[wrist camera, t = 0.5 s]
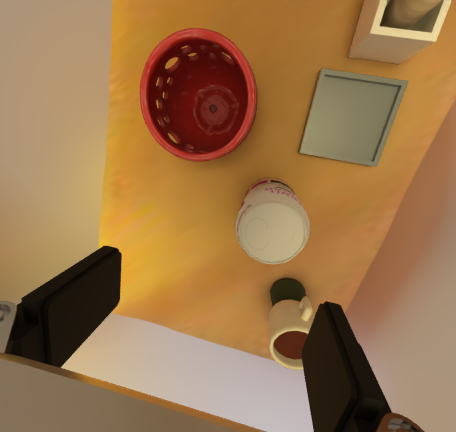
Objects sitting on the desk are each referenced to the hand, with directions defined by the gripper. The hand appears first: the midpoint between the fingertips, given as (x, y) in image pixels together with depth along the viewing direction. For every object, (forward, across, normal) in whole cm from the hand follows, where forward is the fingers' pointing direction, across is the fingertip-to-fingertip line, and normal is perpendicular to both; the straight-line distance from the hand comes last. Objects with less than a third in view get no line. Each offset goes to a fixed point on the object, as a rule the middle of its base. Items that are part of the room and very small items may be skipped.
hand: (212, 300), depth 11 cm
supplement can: (+30, -4, +2) cm, 30 cm away
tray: (+30, -11, -12) cm, 34 cm away
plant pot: (+30, +8, -10) cm, 32 cm away
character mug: (+29, -11, +18) cm, 36 cm away
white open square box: (+30, -12, -23) cm, 40 cm away
